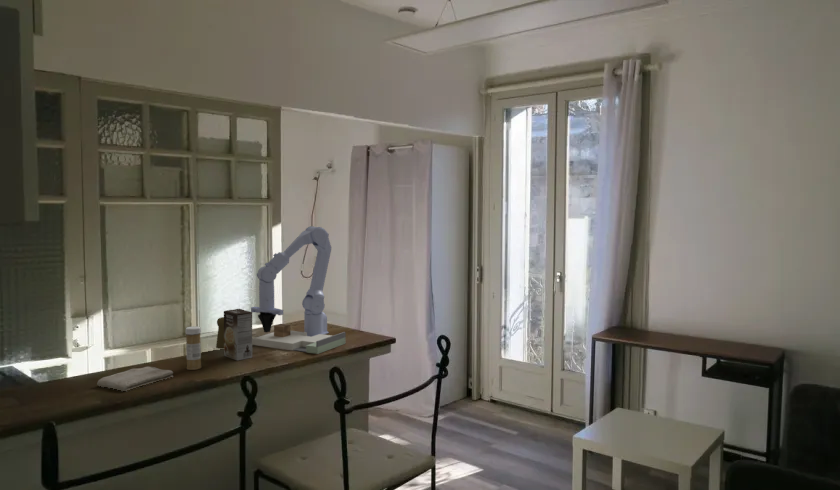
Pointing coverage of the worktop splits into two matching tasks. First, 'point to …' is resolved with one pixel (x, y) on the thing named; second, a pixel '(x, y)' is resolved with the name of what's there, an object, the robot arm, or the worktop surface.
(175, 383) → the worktop surface
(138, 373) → the washcloth
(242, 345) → the coffee box
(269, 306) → the robot arm
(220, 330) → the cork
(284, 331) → the walnut block
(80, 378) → the worktop surface
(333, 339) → the trap deck
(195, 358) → the sprinkles bottle
